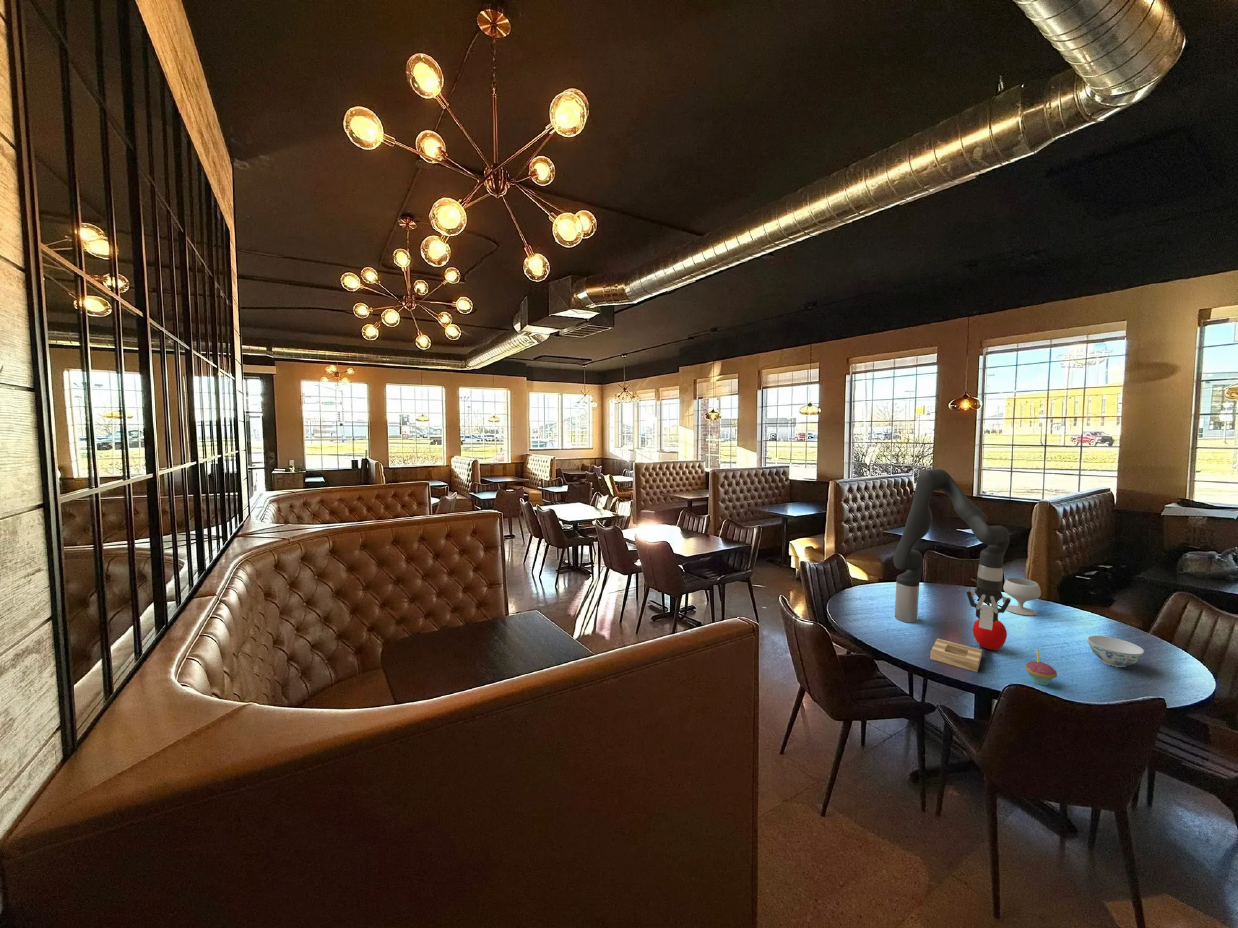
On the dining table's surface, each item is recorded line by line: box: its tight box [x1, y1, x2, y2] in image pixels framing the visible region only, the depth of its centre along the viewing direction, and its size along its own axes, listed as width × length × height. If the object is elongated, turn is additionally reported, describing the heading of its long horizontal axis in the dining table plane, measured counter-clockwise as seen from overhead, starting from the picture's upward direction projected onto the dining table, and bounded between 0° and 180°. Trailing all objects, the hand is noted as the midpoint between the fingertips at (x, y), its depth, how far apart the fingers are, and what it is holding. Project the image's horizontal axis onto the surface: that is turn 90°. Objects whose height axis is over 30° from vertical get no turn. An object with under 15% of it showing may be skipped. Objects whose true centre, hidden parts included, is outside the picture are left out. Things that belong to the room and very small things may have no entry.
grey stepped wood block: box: [979, 604, 994, 630], centre depth 185 cm, size 7×4×8 cm, turn 139°
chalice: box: [1002, 577, 1042, 617], centre depth 233 cm, size 14×14×15 cm
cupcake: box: [1024, 647, 1058, 686], centre depth 171 cm, size 9×8×12 cm
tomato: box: [972, 618, 1008, 651], centre depth 196 cm, size 11×11×13 cm
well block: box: [929, 638, 983, 673], centre depth 189 cm, size 15×15×3 cm
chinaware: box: [1087, 635, 1145, 668], centre depth 184 cm, size 15×15×8 cm
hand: (986, 619), depth 185 cm, fingers closed on grey stepped wood block, 4 cm apart
